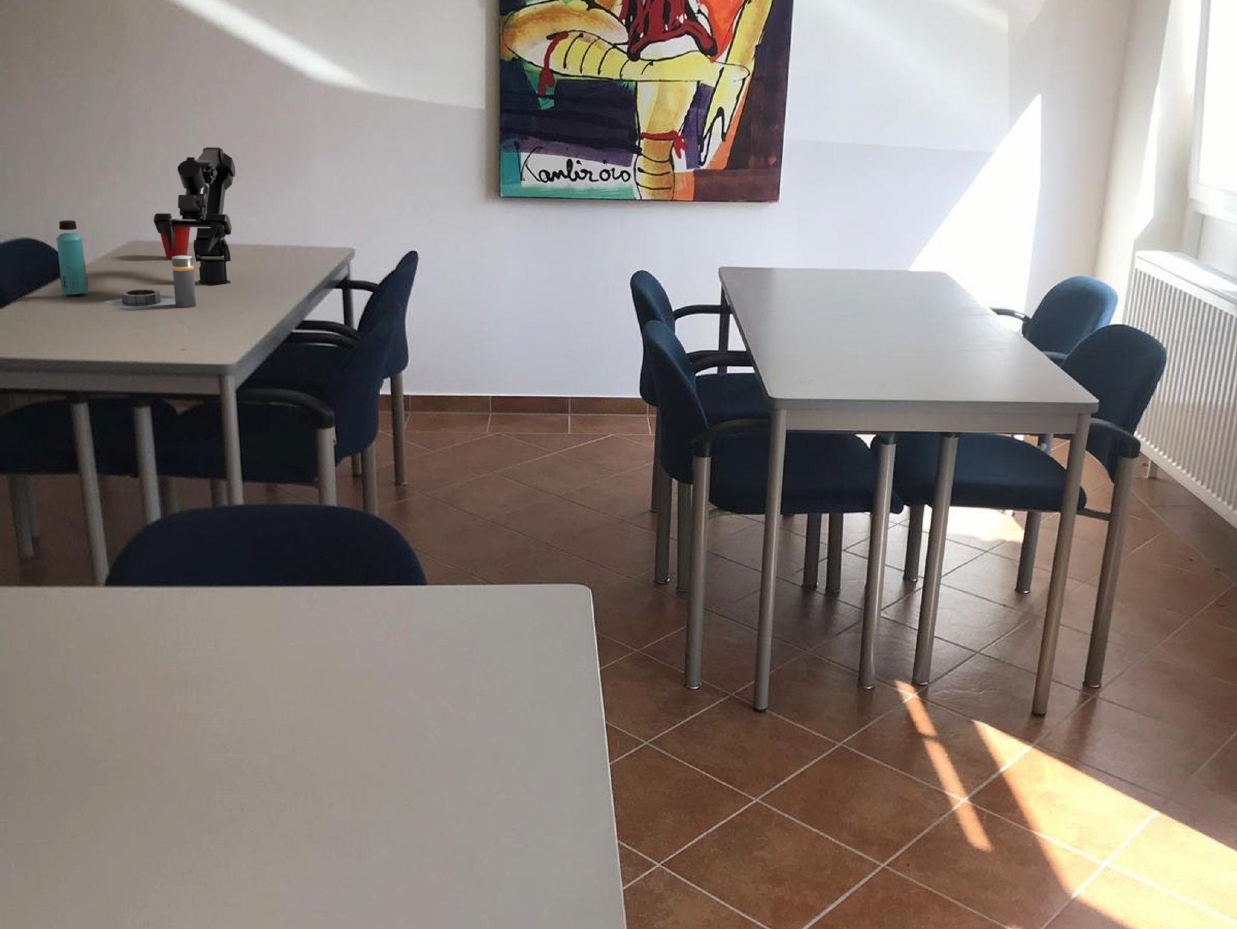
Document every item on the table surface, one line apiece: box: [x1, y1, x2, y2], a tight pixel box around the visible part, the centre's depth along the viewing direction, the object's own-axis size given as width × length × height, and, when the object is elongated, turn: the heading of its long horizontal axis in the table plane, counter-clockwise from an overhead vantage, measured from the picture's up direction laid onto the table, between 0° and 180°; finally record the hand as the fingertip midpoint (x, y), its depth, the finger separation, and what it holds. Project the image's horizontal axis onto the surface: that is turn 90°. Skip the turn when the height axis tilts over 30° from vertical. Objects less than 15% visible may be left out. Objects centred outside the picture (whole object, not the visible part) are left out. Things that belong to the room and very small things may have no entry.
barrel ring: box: [121, 288, 161, 306], centre depth 333 cm, size 9×9×2 cm
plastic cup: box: [160, 216, 191, 261], centre depth 396 cm, size 11×11×12 cm
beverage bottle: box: [56, 219, 89, 295], centre depth 336 cm, size 6×7×20 cm
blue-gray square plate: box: [102, 296, 176, 311], centre depth 333 cm, size 14×14×1 cm
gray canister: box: [171, 255, 197, 309], centre depth 329 cm, size 5×5×13 cm
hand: (189, 250), depth 334 cm, fingers open, 9 cm apart
